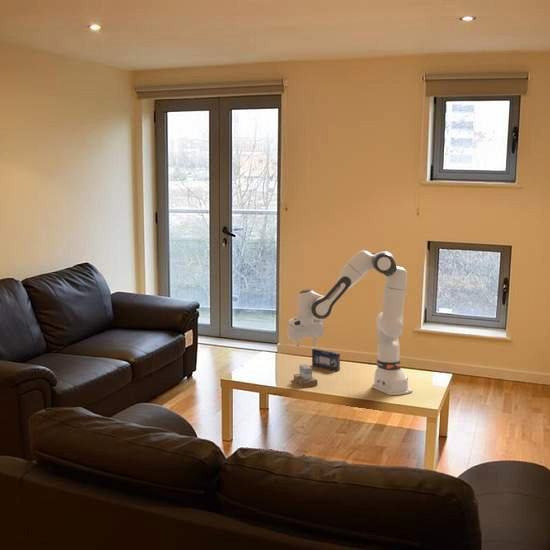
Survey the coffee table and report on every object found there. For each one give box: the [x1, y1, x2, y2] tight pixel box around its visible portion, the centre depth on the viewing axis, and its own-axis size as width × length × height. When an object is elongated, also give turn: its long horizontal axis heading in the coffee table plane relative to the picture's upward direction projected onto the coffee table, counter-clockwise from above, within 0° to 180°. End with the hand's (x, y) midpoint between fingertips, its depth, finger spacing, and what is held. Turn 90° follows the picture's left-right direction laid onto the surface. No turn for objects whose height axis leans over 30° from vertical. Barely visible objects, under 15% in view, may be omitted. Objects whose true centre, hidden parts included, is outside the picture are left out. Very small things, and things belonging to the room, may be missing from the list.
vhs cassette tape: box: [311, 348, 341, 372], centre depth 391 cm, size 18×3×10 cm, turn 48°
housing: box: [299, 364, 313, 380], centre depth 364 cm, size 4×8×6 cm, turn 19°
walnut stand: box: [293, 373, 318, 388], centre depth 364 cm, size 14×8×3 cm, turn 20°
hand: (305, 345), depth 361 cm, fingers open, 8 cm apart
